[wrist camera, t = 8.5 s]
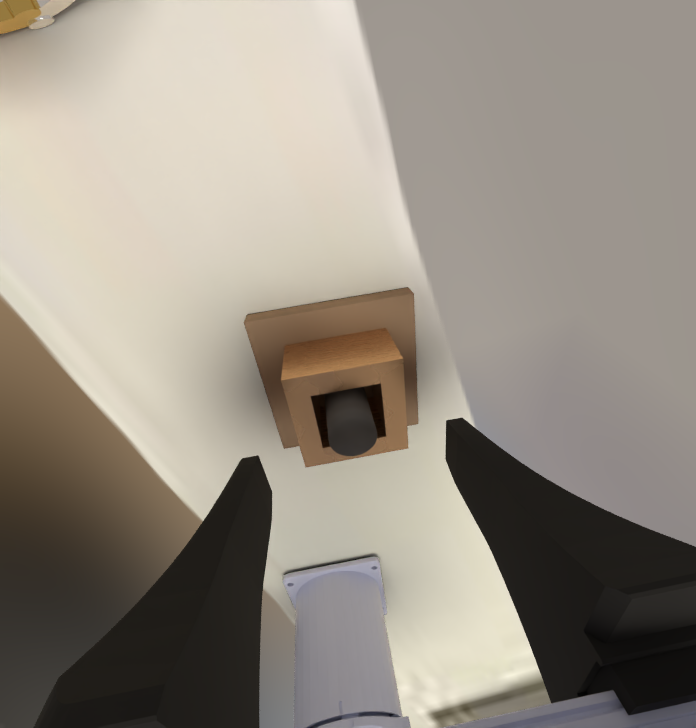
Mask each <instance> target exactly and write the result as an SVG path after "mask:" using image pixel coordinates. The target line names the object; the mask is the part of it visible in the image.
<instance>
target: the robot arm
mask: <svg viewBox="0 0 696 728" xmlns="http://www.w3.org/2000/svg"><path fill="white" fill-rule="evenodd" d="M446 462H447V464H448V467H449V469H450V472H451V474H452V477H453V479H454V482H455V484H456V486H457V488H458V490H459V491H460V493H461V495H462V497H463V499H464V501H465V503H466V504H467V506H468V508H469V510H470V512H471V514H472V515H473V517H474V519H475V521H476V523H477V525H478V526H479V528H480V530H481V532H482V534H483V536H484V537H485V539H486V541H487V543H488V545H489V547H490V549H491V551H492V554H493V556H494V558H495V561H496V563H497V565H498V567H499V570H500V572H501V574H502V577H503V579H504V581H505V584H506V586H507V589H508V591H509V593H510V596H511V598H512V601H513V603H514V606H515V608H516V610H517V613H518V615H519V618H520V621H521V623H522V626H523V628H524V631H525V633H526V636H527V638H528V641H529V643H530V646H531V649H532V651H533V654H534V657H535V659H536V662H537V665H538V668H539V670H540V673H541V676H542V678H543V681H544V684H545V687H546V689H547V692H548V695H549V698H550V701H551V704H547V705H542V706H538V707H533V708H529V709H524V710H519V711H515V712H510V713H506V714H501V715H497V716H492V717H488V718H483V719H478V720H474V721H469V722H465V723H460V724H456V725H451V726H447V727H442V728H696V547H694V546H692V545H689V544H687V543H684V542H682V541H679V540H676V539H674V538H671V537H668V536H666V535H663V534H660V533H658V532H655V531H653V530H650V529H647V528H645V527H642V526H640V525H638V524H635V523H633V522H631V521H629V520H626V519H624V518H622V517H619V516H617V515H614V514H613V513H611V512H608V511H606V510H604V509H602V508H600V507H598V506H595V505H594V504H592V503H590V502H588V501H586V500H584V499H582V498H580V497H578V496H576V495H574V494H572V493H570V492H568V491H566V490H565V489H563V488H561V487H559V486H558V485H556V484H554V483H553V482H551V481H549V480H547V479H546V478H544V477H542V476H541V475H539V474H538V473H536V472H534V471H533V470H531V469H530V468H528V467H527V466H525V465H524V464H522V463H521V462H519V461H518V460H517V459H515V458H514V457H512V456H511V455H510V454H508V453H507V452H505V451H504V450H503V449H501V448H500V447H499V446H497V445H496V444H495V443H493V442H492V441H491V440H490V439H488V438H487V437H486V436H484V435H483V434H482V433H481V432H479V431H478V430H477V429H476V428H474V427H473V426H472V425H471V424H469V423H468V422H467V421H466V420H464V419H463V418H458V419H452V420H447V421H446ZM271 521H272V490H271V488H270V485H269V482H268V480H267V477H266V474H265V472H264V469H263V467H262V464H261V461H260V459H259V456H253V457H248V458H242V459H241V461H240V462H239V464H238V466H237V467H236V469H235V471H234V473H233V474H232V476H231V478H230V480H229V481H228V483H227V485H226V486H225V488H224V490H223V491H222V493H221V495H220V496H219V498H218V499H217V501H216V503H215V504H214V506H213V507H212V509H211V511H210V512H209V514H208V515H207V517H206V518H205V519H204V521H203V522H202V524H201V525H200V527H199V528H198V530H197V531H196V533H195V534H194V535H193V537H192V538H191V540H190V541H189V542H188V544H187V545H186V546H185V548H184V549H183V550H182V551H181V553H180V554H179V555H178V556H177V558H176V559H175V560H174V562H173V563H172V564H171V565H170V566H169V568H168V569H167V570H166V571H165V572H164V573H163V575H162V576H161V577H160V578H159V579H158V581H157V582H156V583H155V584H154V585H153V586H152V587H151V588H150V590H149V591H148V592H147V593H146V594H145V595H144V596H143V597H142V598H141V600H140V601H139V602H138V603H137V604H136V605H135V606H134V607H133V608H132V609H131V610H130V611H129V612H128V613H127V614H126V615H125V616H124V617H123V618H122V619H121V620H120V621H119V622H118V623H117V624H116V625H115V626H114V627H113V628H112V629H111V630H110V631H109V632H108V633H107V634H106V635H105V636H104V637H103V638H102V639H101V640H100V641H99V642H97V643H96V644H95V645H94V646H93V647H92V648H91V649H90V650H89V651H88V652H87V653H85V654H84V655H83V656H82V657H81V658H80V659H79V660H78V661H77V662H76V663H75V664H74V665H73V666H71V667H70V668H69V669H68V670H67V671H66V672H65V673H63V674H62V675H61V676H60V677H59V678H58V680H57V682H56V684H55V686H54V688H53V690H52V691H51V693H50V695H49V697H48V699H47V701H46V703H45V705H44V707H43V709H42V711H41V713H40V715H39V718H38V719H37V722H36V724H35V726H34V728H259V669H260V666H259V664H260V630H261V606H262V605H261V604H262V591H263V581H264V574H265V566H266V559H267V552H268V544H269V537H270V529H271ZM283 584H284V586H285V588H286V590H287V592H288V595H289V597H290V599H291V601H292V604H293V606H294V608H295V610H296V623H295V682H294V683H295V684H294V685H295V686H294V728H411V727H410V722H409V717H408V716H406V717H403V716H402V711H401V705H400V700H399V695H398V689H397V684H396V678H395V673H394V667H393V662H392V657H391V651H390V646H389V640H388V635H387V630H386V624H385V619H384V615H386V614H387V608H386V601H385V595H384V589H383V582H382V576H381V569H380V563H379V559H378V558H377V557H368V558H363V559H358V560H353V561H348V562H343V563H338V564H333V565H328V566H323V567H318V568H313V569H308V570H303V571H298V572H293V573H288V574H285V575H284V576H283Z"/></svg>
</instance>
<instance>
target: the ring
mask: <svg viewBox="0 0 696 728" xmlns="http://www.w3.org/2000/svg"><path fill="white" fill-rule="evenodd" d="M74 1H75V0H0V34H3V33H7V32H11V31H15V30H18V29H21V28H25V27H29V28H30V29H39V28H43V27H46V26H48V25H50V24H52V23H53V22H54V18H53V17H52V16H54V15H56V14H58V13H59V12H61V11H62V10H64V9H65V8H67V7H68V6H69V5H70V4H72V3H73V2H74Z"/></svg>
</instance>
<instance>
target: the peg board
mask: <svg viewBox="0 0 696 728" xmlns="http://www.w3.org/2000/svg"><path fill="white" fill-rule="evenodd" d="M244 325H245V328H246V331H247V334H248V337H249V340H250V343H251V347H252V350H253V353H254V356H255V359H256V362H257V365H258V368H259V372H260V375H261V378H262V381H263V384H264V387H265V390H266V394H267V397H268V400H269V403H270V406H271V409H272V412H273V416H274V419H275V422H276V425H277V428H278V431H279V434H280V438H281V441H282V444H283V447H284V449H285V448H291V447H296V446H299V442H298V439H297V435H296V432H295V428H294V425H293V421H292V417H291V414H290V410H289V407H288V403H287V400H286V396H285V393H284V389H283V386H282V382H281V376H282V366H283V357H284V348H285V345H289V344H295V343H300V342H306V341H312V340H318V339H323V338H329V337H335V336H341V335H346V334H352V333H358V332H364V331H369V330H375V329H381V328H387V330H388V332H389V334H390V336H391V338H392V339H393V341H394V343H395V345H396V347H397V348H398V350H399V352H400V354H401V356H402V358H403V364H404V382H405V400H406V417H407V426H409V425H415V424H418V402H417V372H416V343H415V313H414V293H413V292H412V291H411V290H410V289H409V288H402V289H396V290H390V291H384V292H378V293H372V294H367V295H361V296H355V297H349V298H343V299H337V300H331V301H325V302H319V303H314V304H308V305H302V306H296V307H290V308H284V309H278V310H272V311H266V312H261V313H255V314H249V315H247V316H246V319H245V321H244ZM317 396H318V401H319V405H320V407H321V406H325V408H326V418H327V429H328V439H329V444H330V447H331V448H332V449H333V450H334V451H335V452H336V453H338V454H340V455H343V456H357V455H361V454H363V453H365V452H367V451H369V450H370V449H371V448H372V447H373V446H374V444H375V443H376V440H377V430H376V427H375V424H374V420H373V417H372V413H371V410H370V406H369V403H368V399H367V398H370V397H374V396H373V387H372V385H369V386H364V387H358V388H353V389H347V390H342V391H336V392H331V393H325V394H319V395H317Z"/></svg>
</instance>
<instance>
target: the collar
mask: <svg viewBox="0 0 696 728" xmlns="http://www.w3.org/2000/svg"><path fill="white" fill-rule="evenodd" d="M281 382H282V386H283V389H284V393H285V396H286V400H287V403H288V407H289V410H290V414H291V417H292V421H293V425H294V428H295V432H296V435H297V439H298V442H299V446H300V449H301V453H302V456H303V460H304V463H305V467H311V466H316V465H321V464H327V463H332V462H337V461H343V460H348V459H353V458H359V457H364V456H369V455H375V454H380V453H385V452H391V451H396V450H401V449H407V448H408V435H407V417H406V400H405V382H404V364H403V358H402V356H401V354H400V352H399V350H398V348H397V347H396V345H395V343H394V341H393V339H392V338H391V336H390V334H389V332H388V330H387V328H381V329H375V330H369V331H364V332H358V333H352V334H346V335H341V336H335V337H329V338H323V339H318V340H312V341H306V342H300V343H295V344H289V345H285V348H284V357H283V366H282V376H281ZM369 385H372V387H373V396H374V397H370V398H367V399H368V403H369V406H370V410H371V413H372V417H373V420H374V424H375V427H376V430H377V440H376V443H375V444H374V446H373V447H372V448H371V449H370V450H369V451H367V452H365V453H363V454H361V455H357V456H343V455H340V454H338V453H336V452H335V451H334V450H333V449H332V448H331V447H330V444H329V439H328V429H327V418H326V408H325V406H321V407H320V405H319V401H318V396H317V395H319V394H325V393H331V392H336V391H342V390H347V389H353V388H358V387H364V386H369Z"/></svg>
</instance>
